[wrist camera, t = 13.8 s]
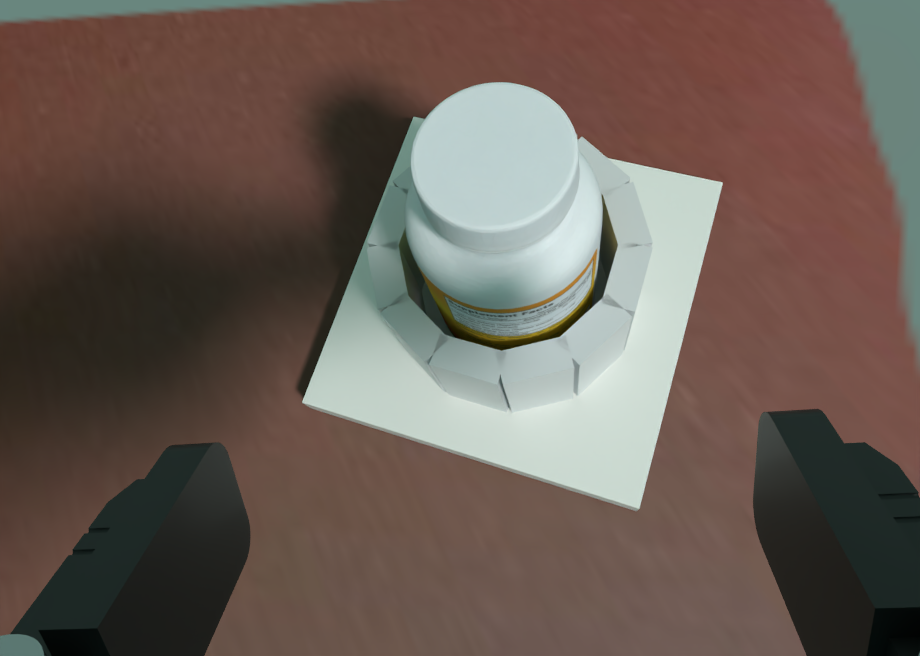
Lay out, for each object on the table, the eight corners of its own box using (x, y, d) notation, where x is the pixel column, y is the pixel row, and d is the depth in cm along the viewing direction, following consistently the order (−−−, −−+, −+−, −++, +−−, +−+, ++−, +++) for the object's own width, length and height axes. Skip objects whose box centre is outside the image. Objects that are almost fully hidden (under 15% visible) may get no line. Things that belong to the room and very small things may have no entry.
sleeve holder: (311, 408, 27) (258, 373, 22) (418, 130, 30) (391, 49, 26) (636, 511, 25) (653, 496, 20) (717, 196, 28) (748, 118, 23)
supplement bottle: (460, 219, 28) (408, 44, 19) (605, 239, 27) (626, 66, 17) (427, 356, 26) (353, 240, 17) (580, 383, 25) (588, 275, 16)
